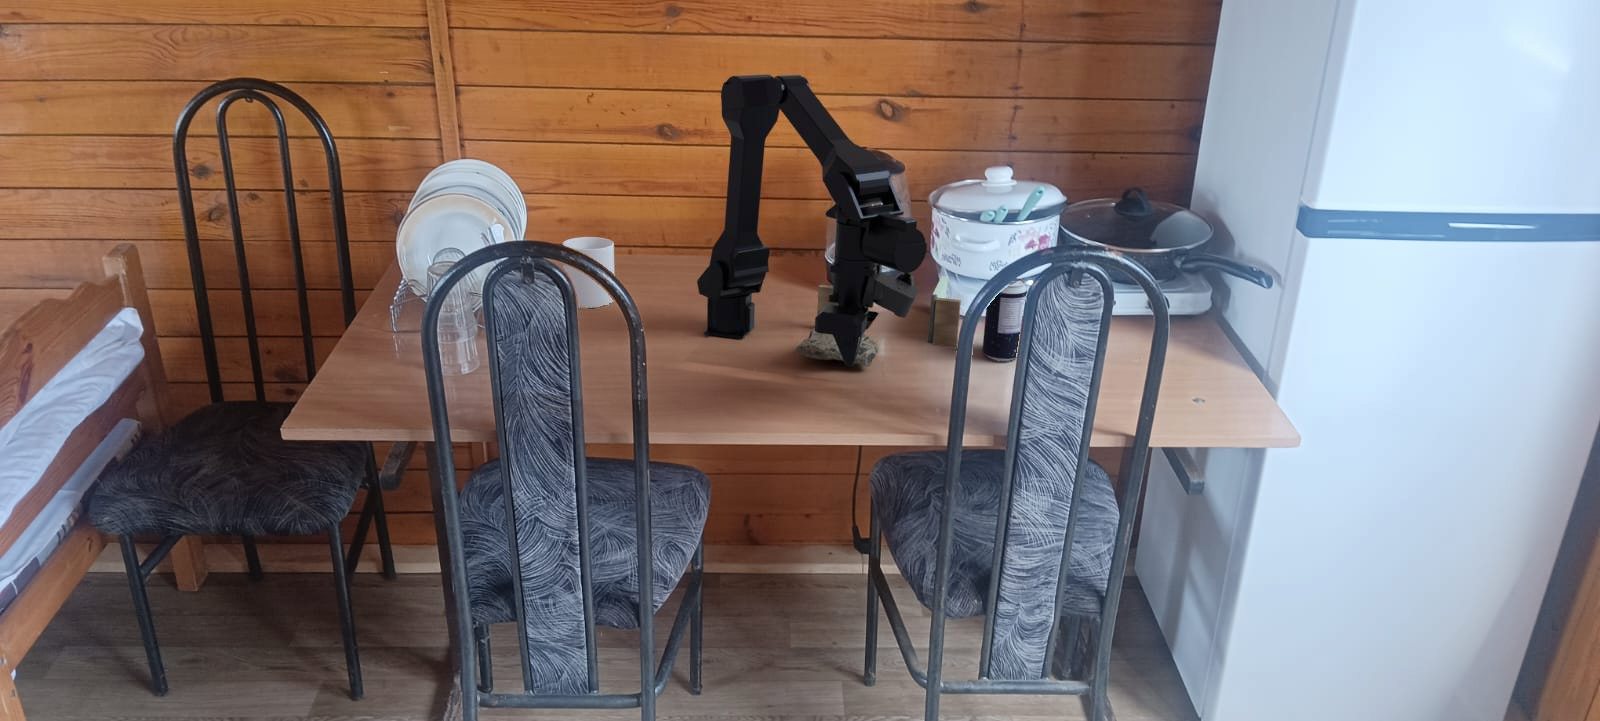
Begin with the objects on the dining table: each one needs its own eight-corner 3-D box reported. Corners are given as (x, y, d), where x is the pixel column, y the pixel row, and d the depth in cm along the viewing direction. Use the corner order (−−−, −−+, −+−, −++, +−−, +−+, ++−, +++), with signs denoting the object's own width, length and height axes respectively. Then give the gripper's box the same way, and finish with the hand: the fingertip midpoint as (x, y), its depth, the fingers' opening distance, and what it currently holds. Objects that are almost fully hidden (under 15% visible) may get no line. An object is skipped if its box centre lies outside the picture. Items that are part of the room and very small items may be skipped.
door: (938, 316, 189) (941, 275, 187) (944, 317, 189) (948, 276, 187) (928, 339, 178) (931, 296, 176) (934, 340, 178) (938, 297, 176)
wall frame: (816, 332, 181) (818, 283, 178) (818, 330, 182) (820, 281, 179) (955, 349, 176) (960, 299, 173) (956, 346, 177) (961, 297, 174)
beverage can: (1022, 354, 175) (1030, 278, 171) (1016, 366, 170) (1024, 288, 166) (985, 349, 176) (992, 273, 172) (978, 360, 171) (985, 283, 167)
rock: (858, 374, 162) (859, 345, 160) (789, 362, 167) (789, 334, 165) (889, 356, 170) (890, 328, 169) (822, 345, 176) (823, 318, 174)
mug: (580, 288, 199) (579, 230, 196) (627, 292, 198) (626, 233, 195) (557, 308, 188) (555, 247, 184) (606, 312, 187) (605, 251, 183)
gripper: (902, 279, 143) (894, 396, 148) (927, 245, 160) (919, 351, 165) (816, 270, 146) (811, 385, 151) (848, 237, 163) (843, 341, 168)
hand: (849, 365), depth 159 cm, fingers closed
